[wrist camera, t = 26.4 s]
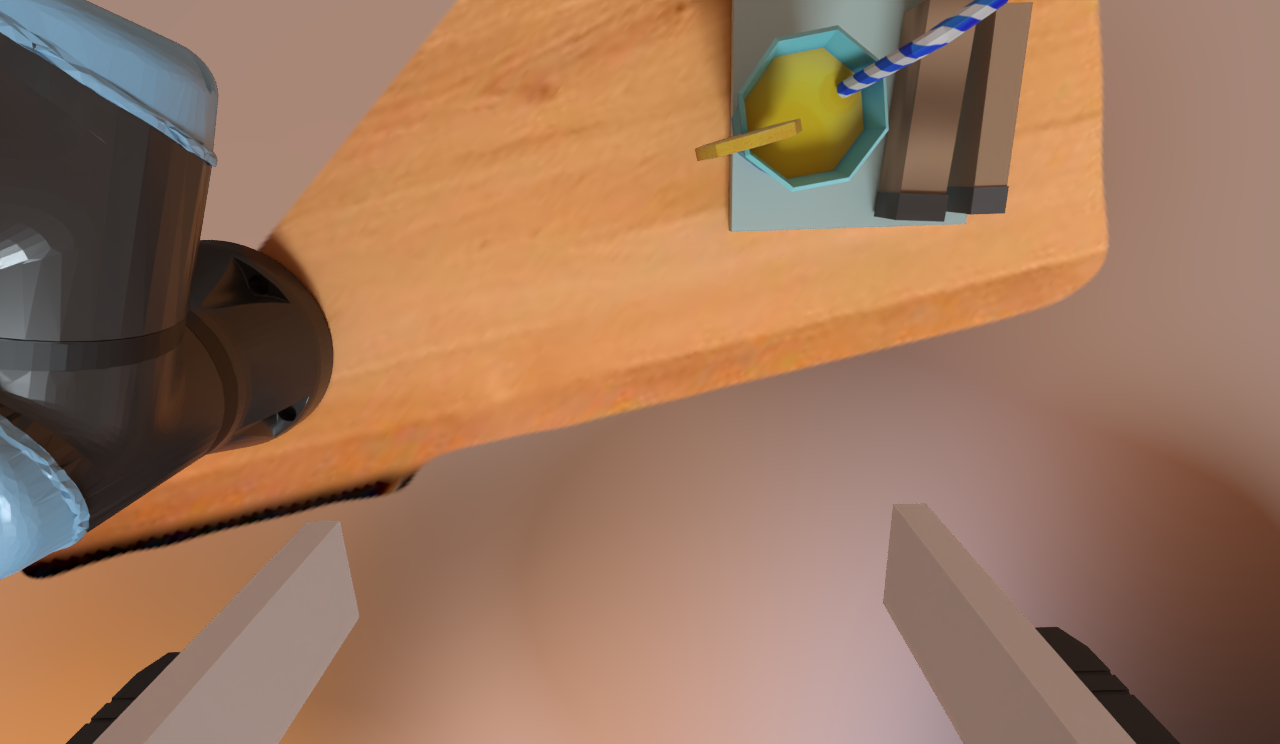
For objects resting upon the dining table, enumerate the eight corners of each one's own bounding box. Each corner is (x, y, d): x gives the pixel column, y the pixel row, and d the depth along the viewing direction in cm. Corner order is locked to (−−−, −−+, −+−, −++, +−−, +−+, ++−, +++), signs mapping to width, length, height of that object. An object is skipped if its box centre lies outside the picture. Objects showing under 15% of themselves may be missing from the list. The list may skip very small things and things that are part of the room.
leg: (914, -65, 37) (943, -91, 33) (963, -63, 37) (999, -89, 33) (873, 216, 42) (895, 220, 38) (917, 217, 42) (944, 221, 38)
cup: (851, -3, 38) (979, -112, 24) (905, 111, 40) (1054, 74, 26) (660, 128, 40) (671, 101, 26) (720, 230, 42) (761, 257, 28)
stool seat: (729, 230, 43) (740, 236, 39) (733, -107, 37) (746, -147, 33) (963, 222, 43) (1002, 227, 39) (1005, -117, 37) (1057, -159, 32)
